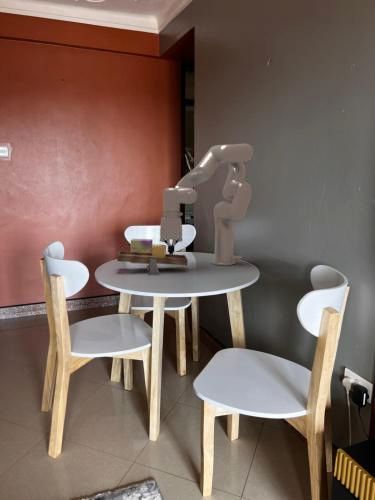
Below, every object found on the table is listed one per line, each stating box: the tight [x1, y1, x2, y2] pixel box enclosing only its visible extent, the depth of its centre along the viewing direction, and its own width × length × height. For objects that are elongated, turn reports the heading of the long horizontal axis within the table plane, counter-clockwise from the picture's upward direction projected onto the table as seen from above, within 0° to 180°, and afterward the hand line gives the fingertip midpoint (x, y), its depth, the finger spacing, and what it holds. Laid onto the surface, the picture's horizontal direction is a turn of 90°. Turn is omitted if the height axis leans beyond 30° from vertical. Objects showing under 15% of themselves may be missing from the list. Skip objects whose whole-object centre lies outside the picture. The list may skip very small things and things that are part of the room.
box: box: [130, 238, 153, 264], centre depth 196 cm, size 10×6×12 cm, turn 84°
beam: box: [117, 250, 189, 266], centre depth 178 cm, size 32×10×3 cm, turn 97°
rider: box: [152, 243, 167, 258], centre depth 177 cm, size 6×5×6 cm
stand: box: [146, 252, 160, 276], centre depth 178 cm, size 5×17×7 cm, turn 7°
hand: (171, 253), depth 178 cm, fingers closed
